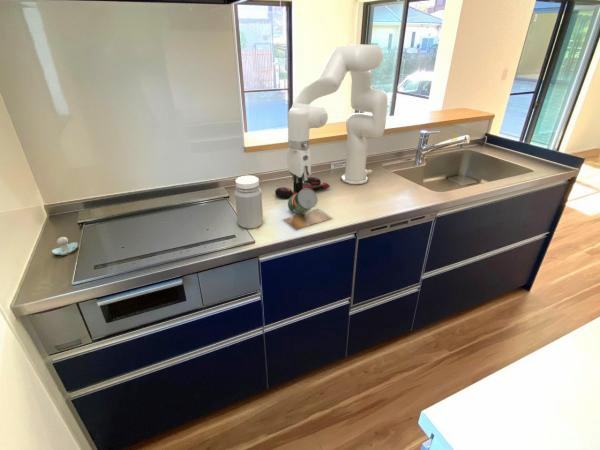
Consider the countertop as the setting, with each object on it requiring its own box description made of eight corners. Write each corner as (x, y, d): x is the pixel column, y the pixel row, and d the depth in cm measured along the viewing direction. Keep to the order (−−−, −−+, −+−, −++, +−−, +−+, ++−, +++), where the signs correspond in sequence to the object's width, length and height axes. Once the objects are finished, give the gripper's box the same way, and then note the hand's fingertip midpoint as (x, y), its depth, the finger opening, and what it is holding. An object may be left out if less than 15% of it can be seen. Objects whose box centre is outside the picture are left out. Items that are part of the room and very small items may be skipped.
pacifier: (51, 253, 114) (56, 260, 110) (43, 237, 111) (49, 243, 107) (75, 244, 119) (81, 250, 115) (68, 228, 116) (75, 234, 112)
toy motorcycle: (272, 198, 153) (295, 205, 142) (270, 187, 151) (294, 193, 140) (312, 185, 168) (336, 190, 157) (311, 174, 166) (336, 178, 155)
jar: (234, 220, 133) (230, 176, 124) (258, 215, 137) (255, 172, 128) (241, 232, 125) (237, 186, 117) (267, 226, 129) (264, 182, 120)
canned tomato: (286, 196, 137) (296, 188, 127) (304, 195, 140) (315, 187, 130) (289, 215, 136) (300, 209, 126) (307, 213, 139) (319, 207, 129)
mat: (317, 209, 141) (317, 209, 141) (330, 218, 134) (330, 218, 134) (283, 220, 133) (283, 219, 133) (296, 229, 127) (296, 229, 127)
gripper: (319, 147, 120) (317, 196, 129) (296, 138, 131) (295, 183, 140) (301, 151, 117) (300, 200, 125) (279, 140, 128) (279, 187, 136)
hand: (298, 191), depth 133 cm, fingers closed
